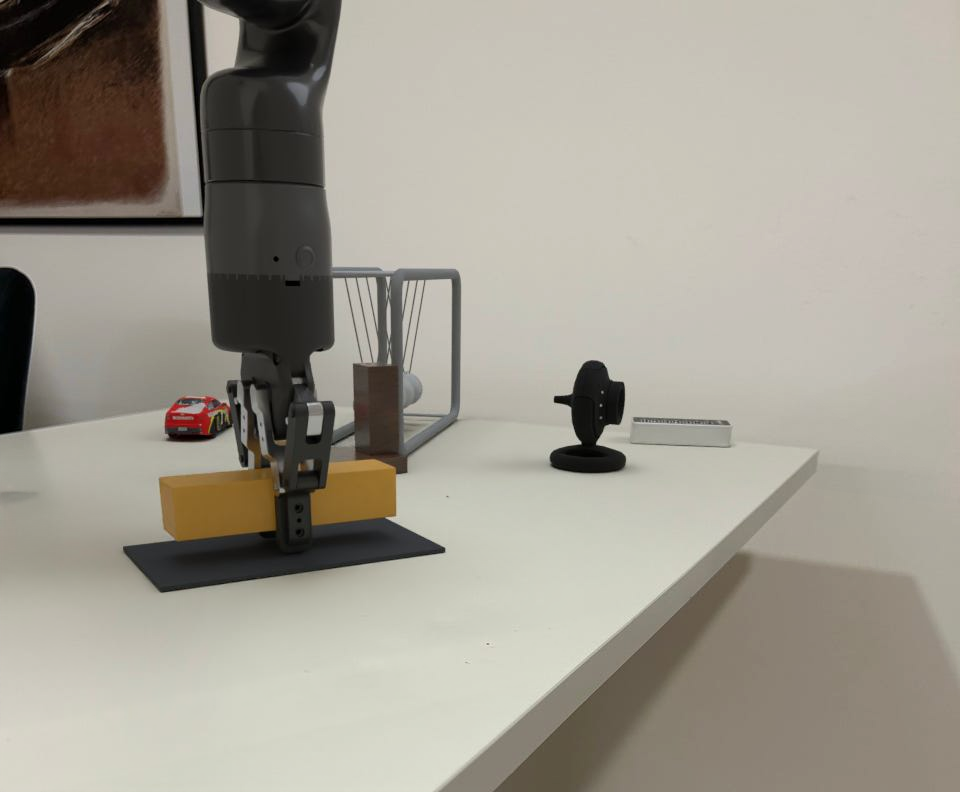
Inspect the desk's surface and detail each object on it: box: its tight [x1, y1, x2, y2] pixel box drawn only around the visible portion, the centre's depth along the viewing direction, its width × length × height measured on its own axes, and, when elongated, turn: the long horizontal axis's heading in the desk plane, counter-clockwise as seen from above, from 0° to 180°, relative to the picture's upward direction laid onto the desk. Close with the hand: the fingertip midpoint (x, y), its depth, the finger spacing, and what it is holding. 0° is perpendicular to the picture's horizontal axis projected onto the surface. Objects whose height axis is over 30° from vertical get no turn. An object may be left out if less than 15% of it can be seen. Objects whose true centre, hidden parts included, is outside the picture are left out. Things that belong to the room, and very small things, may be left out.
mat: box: [122, 517, 446, 593], centre depth 66 cm, size 19×10×1 cm, turn 121°
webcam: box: [549, 359, 627, 473], centre depth 95 cm, size 8×8×10 cm
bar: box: [158, 459, 397, 542], centre depth 65 cm, size 15×3×3 cm, turn 121°
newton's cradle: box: [331, 266, 462, 456], centre depth 108 cm, size 30×10×18 cm, turn 170°
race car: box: [164, 395, 233, 438], centre depth 110 cm, size 13×5×4 cm, turn 178°
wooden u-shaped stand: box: [254, 361, 408, 474], centre depth 90 cm, size 13×7×10 cm, turn 121°
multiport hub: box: [629, 416, 733, 448], centre depth 110 cm, size 4×11×2 cm, turn 83°
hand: (284, 542), depth 66 cm, fingers closed on bar, 3 cm apart
